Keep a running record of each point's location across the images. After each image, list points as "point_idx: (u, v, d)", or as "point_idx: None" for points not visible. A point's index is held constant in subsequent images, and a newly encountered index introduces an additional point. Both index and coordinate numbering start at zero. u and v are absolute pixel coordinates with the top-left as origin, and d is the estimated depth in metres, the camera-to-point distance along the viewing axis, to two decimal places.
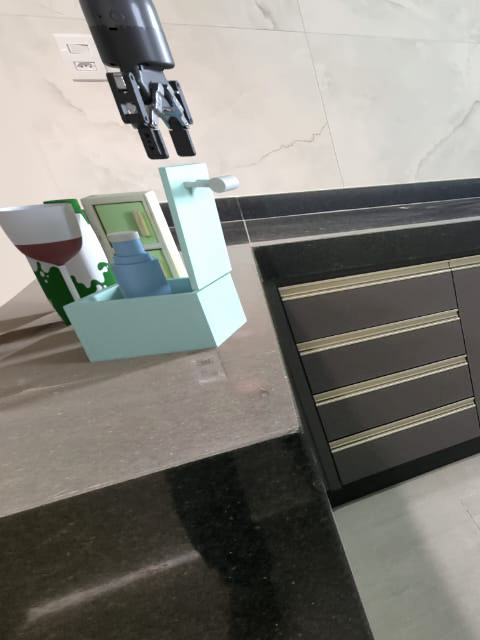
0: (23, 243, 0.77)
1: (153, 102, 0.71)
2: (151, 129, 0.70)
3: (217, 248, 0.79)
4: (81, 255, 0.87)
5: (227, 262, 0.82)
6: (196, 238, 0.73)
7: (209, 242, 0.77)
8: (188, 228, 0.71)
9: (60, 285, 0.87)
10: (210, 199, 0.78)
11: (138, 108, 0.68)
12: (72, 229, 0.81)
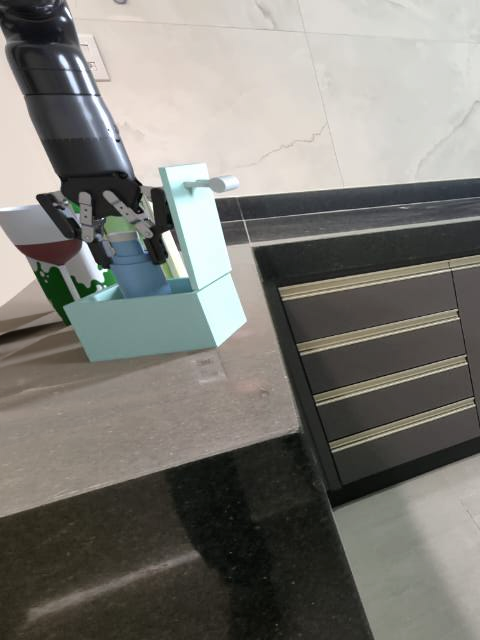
0: (23, 243, 0.77)
1: (144, 210, 0.73)
2: None
3: (217, 248, 0.79)
4: (81, 255, 0.87)
5: (227, 262, 0.82)
6: (196, 238, 0.73)
7: (209, 242, 0.77)
8: (188, 228, 0.71)
9: (60, 285, 0.87)
10: (210, 199, 0.78)
11: None
12: None
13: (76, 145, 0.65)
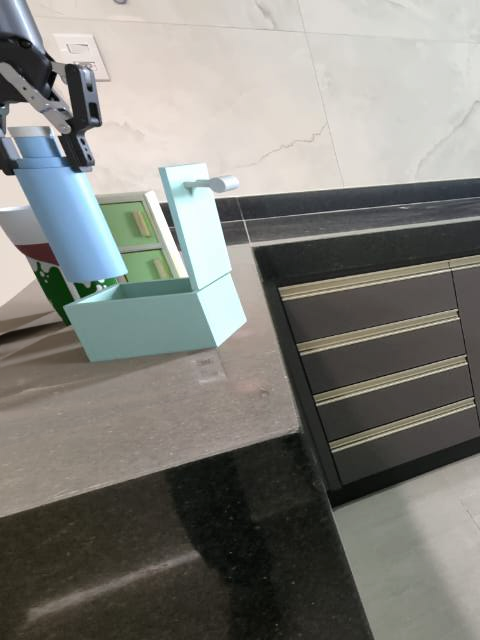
0: (23, 243, 0.77)
1: (60, 98, 0.56)
2: None
3: (217, 248, 0.79)
4: None
5: (227, 262, 0.82)
6: (196, 238, 0.73)
7: (209, 242, 0.77)
8: (188, 228, 0.71)
9: (60, 285, 0.87)
10: (210, 199, 0.78)
11: (99, 111, 0.57)
12: None
13: None
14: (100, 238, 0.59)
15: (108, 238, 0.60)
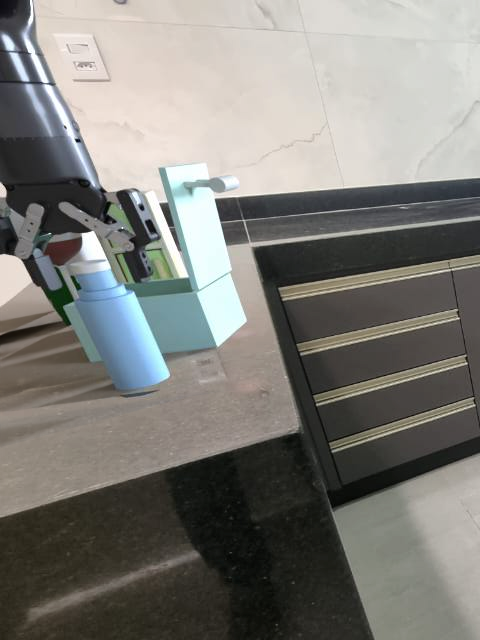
0: None
1: (116, 219, 0.60)
2: None
3: (217, 248, 0.79)
4: (81, 255, 0.87)
5: (227, 262, 0.82)
6: (196, 238, 0.73)
7: (209, 242, 0.77)
8: (188, 228, 0.71)
9: None
10: (210, 199, 0.78)
11: (155, 225, 0.61)
12: None
13: (23, 146, 0.52)
14: (149, 356, 0.64)
15: (156, 354, 0.65)
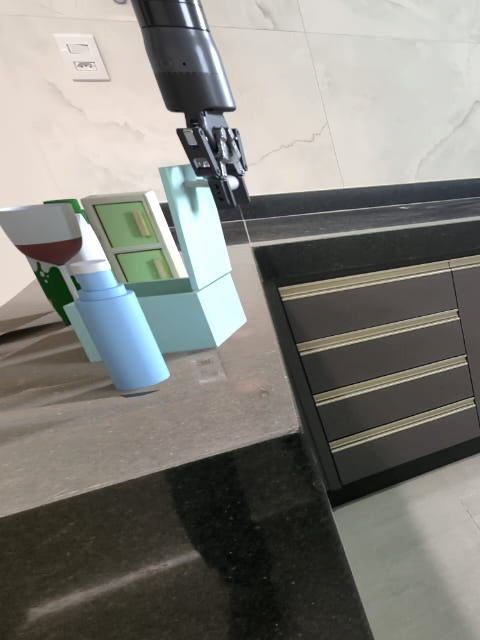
0: (23, 243, 0.77)
1: None
2: None
3: (217, 248, 0.79)
4: (81, 255, 0.87)
5: (227, 262, 0.82)
6: (196, 238, 0.73)
7: (209, 242, 0.77)
8: (188, 228, 0.71)
9: (60, 285, 0.87)
10: (210, 199, 0.78)
11: None
12: (72, 229, 0.81)
13: (228, 82, 0.71)
14: (149, 356, 0.64)
15: (156, 354, 0.65)
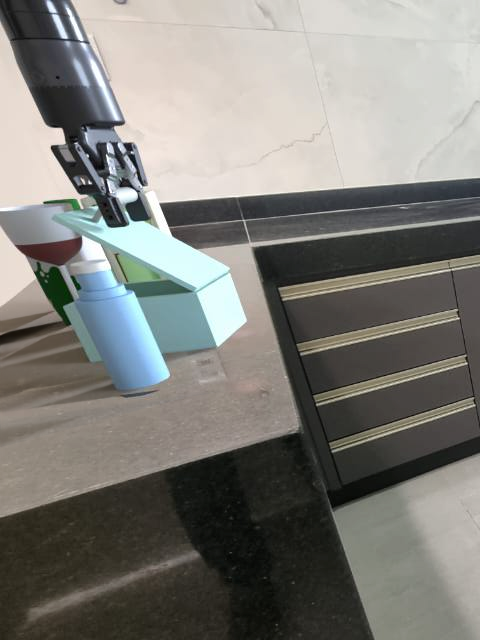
0: (23, 243, 0.77)
1: None
2: None
3: (192, 257, 0.78)
4: (81, 255, 0.87)
5: (218, 264, 0.82)
6: (155, 254, 0.72)
7: (176, 254, 0.76)
8: (135, 250, 0.70)
9: (60, 285, 0.87)
10: (145, 226, 0.77)
11: None
12: None
13: None
14: (149, 356, 0.64)
15: (156, 354, 0.65)
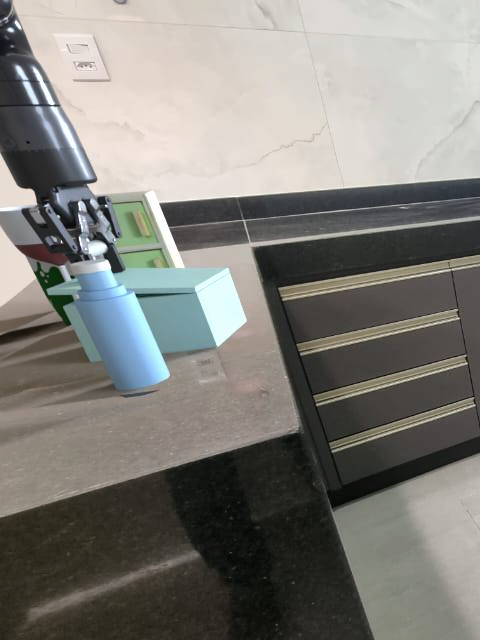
0: (23, 243, 0.77)
1: None
2: None
3: (188, 272, 0.79)
4: None
5: (215, 269, 0.82)
6: (149, 281, 0.73)
7: (170, 276, 0.77)
8: (129, 284, 0.72)
9: None
10: (137, 270, 0.78)
11: None
12: (72, 229, 0.81)
13: (85, 154, 0.69)
14: (149, 356, 0.64)
15: (156, 354, 0.65)
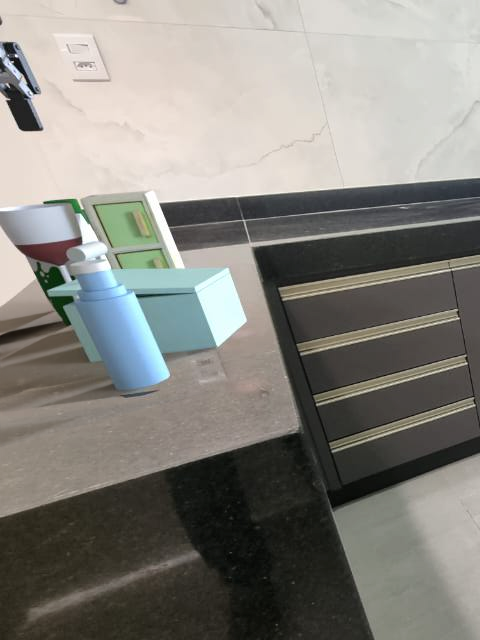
0: (23, 243, 0.77)
1: None
2: None
3: (188, 272, 0.79)
4: None
5: (215, 269, 0.82)
6: (149, 282, 0.73)
7: (170, 276, 0.77)
8: (129, 285, 0.72)
9: None
10: (137, 270, 0.78)
11: None
12: (72, 229, 0.81)
13: None
14: (149, 356, 0.64)
15: (156, 354, 0.65)
